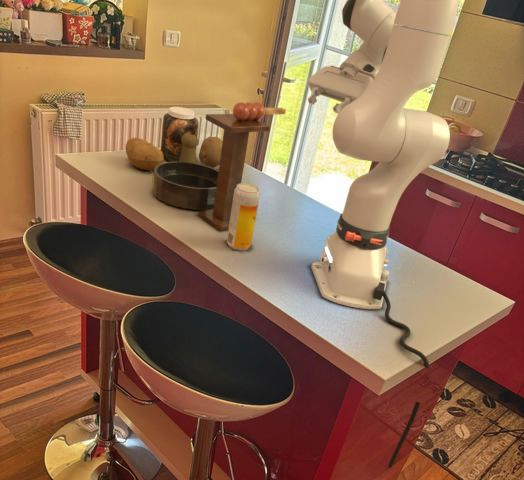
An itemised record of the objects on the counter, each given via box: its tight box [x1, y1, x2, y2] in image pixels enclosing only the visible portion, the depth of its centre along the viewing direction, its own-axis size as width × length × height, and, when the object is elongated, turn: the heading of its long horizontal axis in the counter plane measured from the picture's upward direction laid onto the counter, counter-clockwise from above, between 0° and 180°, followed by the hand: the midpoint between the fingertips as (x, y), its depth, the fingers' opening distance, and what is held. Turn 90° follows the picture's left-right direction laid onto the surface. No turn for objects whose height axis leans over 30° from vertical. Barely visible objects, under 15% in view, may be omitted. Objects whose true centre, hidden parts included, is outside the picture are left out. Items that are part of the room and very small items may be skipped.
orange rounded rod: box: [232, 101, 287, 121], centre depth 134 cm, size 16×4×4 cm, turn 131°
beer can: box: [226, 182, 261, 251], centre depth 131 cm, size 6×6×15 cm
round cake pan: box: [152, 161, 219, 211], centre depth 153 cm, size 20×20×6 cm
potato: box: [125, 137, 165, 172], centre depth 164 cm, size 10×14×8 cm
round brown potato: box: [198, 136, 223, 169], centre depth 175 cm, size 9×9×10 cm
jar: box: [160, 106, 200, 162], centre depth 176 cm, size 12×12×15 cm
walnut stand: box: [197, 113, 271, 232], centre depth 139 cm, size 12×10×26 cm
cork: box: [179, 134, 199, 163], centre depth 169 cm, size 6×6×11 cm
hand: (322, 106), depth 148 cm, fingers open, 8 cm apart
